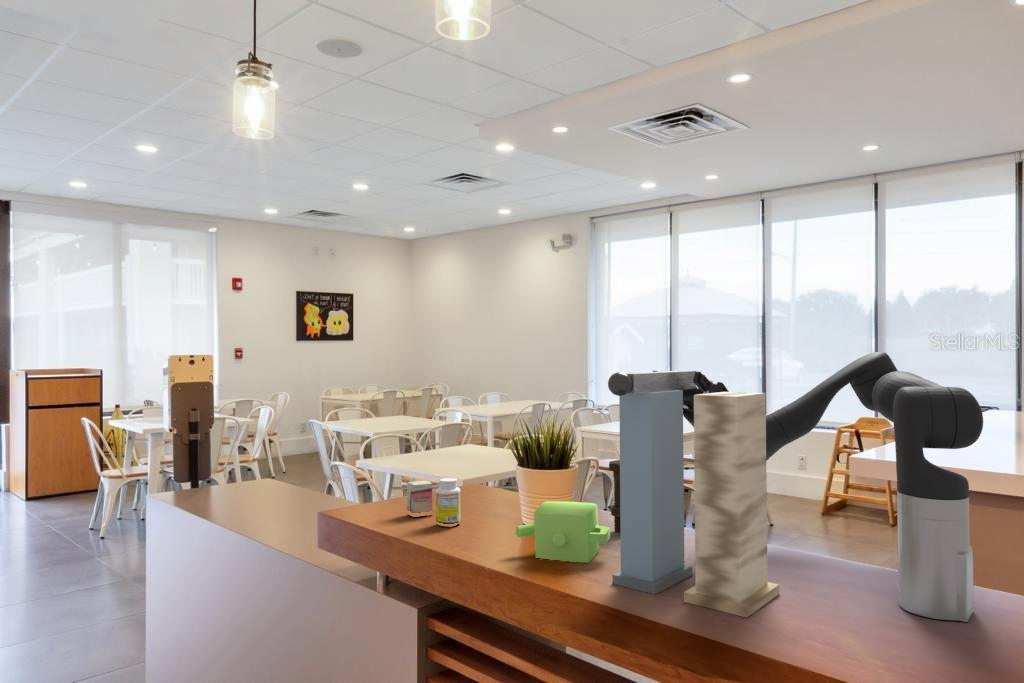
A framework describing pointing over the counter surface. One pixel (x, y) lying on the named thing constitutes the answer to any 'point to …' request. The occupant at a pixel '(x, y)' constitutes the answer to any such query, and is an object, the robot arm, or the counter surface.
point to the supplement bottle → (448, 502)
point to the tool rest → (730, 503)
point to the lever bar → (650, 382)
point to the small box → (419, 496)
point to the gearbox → (566, 531)
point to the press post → (651, 491)
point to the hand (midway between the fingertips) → (673, 375)
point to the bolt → (616, 493)
